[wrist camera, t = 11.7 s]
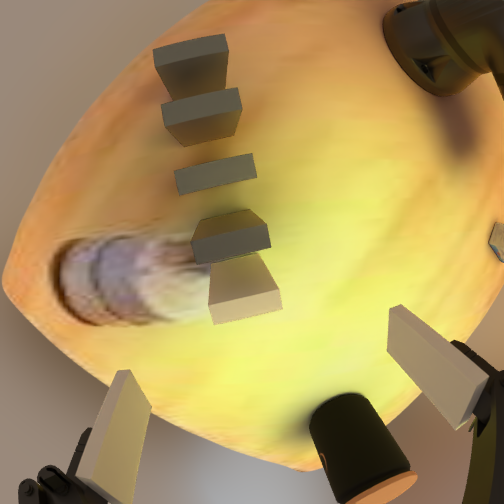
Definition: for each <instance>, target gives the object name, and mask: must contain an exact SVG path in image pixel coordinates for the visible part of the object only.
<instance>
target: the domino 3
mask: <svg viewBox="0 0 504 504" xmlns="http://www.w3.org/2000/svg"><path fill="white" fill-rule="evenodd" d="M174 174H175V179H176V183H177V188H178V192H179V195H183V194H187V193H191V192H195V191H199V190H203V189H208V188H212V187H216V186H220V185H225V184H229V183H234V182H238V181H243V180H248V179H253V178H257V174H256V169H255V164H254V160H253V155H252V153H250V154H245V155H240V156H235V157H230V158H225V159H221V160H216V161H212V162H208V163H203V164H199V165H195V166H191V167H187V168H183V169H179V170H176V171H174Z"/></svg>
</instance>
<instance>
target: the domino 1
mask: <svg viewBox="0 0 504 504" xmlns="http://www.w3.org/2000/svg"><path fill="white" fill-rule="evenodd" d="M228 54H229V50H228V45H227V41H226V37H225V34H219V35H213V36H207V37H202V38H197V39H192V40H188V41H183V42H179V43H175V44H171V45H167V46H163V47H160V48H156V49H153V56H154V64H155V68H156V70H157V72H158V74H159V75H160V77H161V79H162V81H163V83H164V85H165V86H166V88H167V90H168V92H169V94H170V95H171V97H172V99H173V101H176V100H180V99H184V98H188V97H192V96H196V95H201V94H206V93H210V92H215V91H220V90H225V86H226V75H227V64H228Z"/></svg>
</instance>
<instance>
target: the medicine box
mask: <svg viewBox="0 0 504 504" xmlns="http://www.w3.org/2000/svg"><path fill="white" fill-rule="evenodd" d="M489 244H490V246H491V247H492V249H493V250H494V252H495V253H496V255H497V256H498V258H499V259H500V261H501V262H503V263H504V224H502V223H498V222H496V223H495V226H494V229H493V232H492V235H491V238H490V241H489Z"/></svg>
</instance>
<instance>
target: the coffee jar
mask: <svg viewBox="0 0 504 504" xmlns="http://www.w3.org/2000/svg"><path fill="white" fill-rule="evenodd" d="M309 429H310V434H311V436H312V439H313V441H314V444H315V447H316V449H317V452H318V455H319V457H320V460H321V462H322V465H323V468H324V470H325V473H326V475H327V478H328V480H329V483H330V486H331V488H332V491H333V493H334V496H335V498H336V501H337V502H338V503H340V504H385V503H387V502H389V501H390V500H393V499H394V498H396V497H397V496H399V495H400V494H402V493H403V492H404V491H406V490H407V489H408V488H409V487H410V486H411V485H413V483H414V482H415V481H416V480H417V478H418V476H417V474H416V473H415V471H410V464H409V461H408V460H407V458H406V456H405V455H404V454H403V452H402V450H401V449H400V447H399V446H398V444H397V443H396V441H395V440H394V438H393V437H392V435H391V433H390V432H389V431H388V429H387V427H386V426H385V424H384V423H383V421H382V420H381V418H380V417H379V415H378V414H377V412H376V411H375V409H374V408H373V406H372V405H371V403H370V402H369V400H368V399H366V398H364V397H362V396H360V395H355V394H348V395H342V396H339V397H336V398H334V399H332V400H330V401H328V402H327V403H325V404H323V405H322V406H321V407H320V408H319V409H318V410H317V411H316V412H315V414H314V415H313V417H312V419H311V422H310V425H309Z"/></svg>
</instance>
